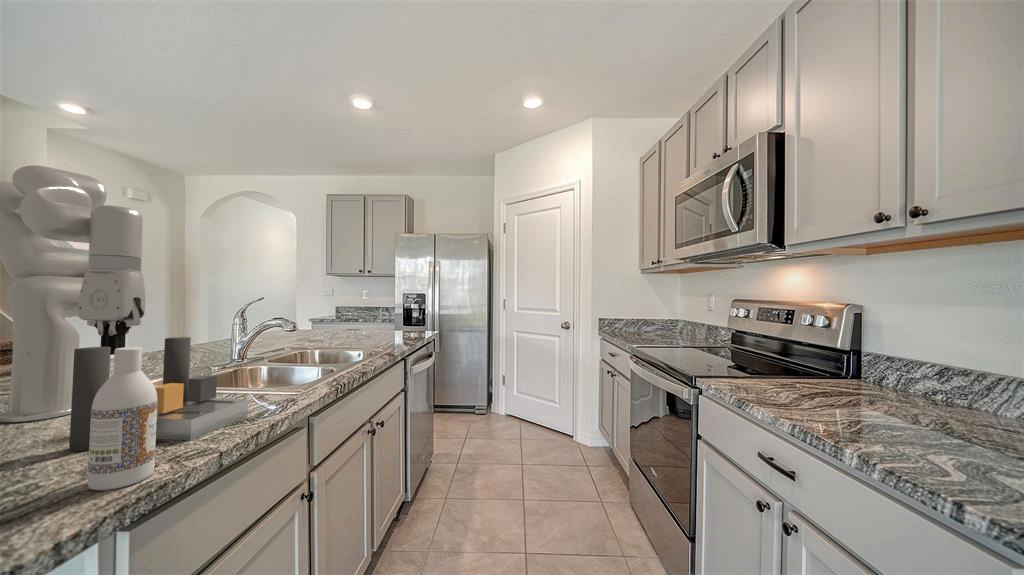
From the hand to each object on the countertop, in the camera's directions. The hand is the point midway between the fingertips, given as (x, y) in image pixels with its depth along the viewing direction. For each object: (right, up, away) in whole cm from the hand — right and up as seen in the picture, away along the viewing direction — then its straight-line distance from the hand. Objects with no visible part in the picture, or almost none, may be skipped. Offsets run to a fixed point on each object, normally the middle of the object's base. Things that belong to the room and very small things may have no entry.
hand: (112, 354), depth 76 cm
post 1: (+5, -15, -9) cm, 19 cm away
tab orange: (+12, -12, -1) cm, 17 cm away
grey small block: (+13, -12, +7) cm, 19 cm away
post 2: (+6, -16, +8) cm, 19 cm away
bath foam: (+24, -16, -20) cm, 35 cm away
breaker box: (+15, -16, +2) cm, 22 cm away
